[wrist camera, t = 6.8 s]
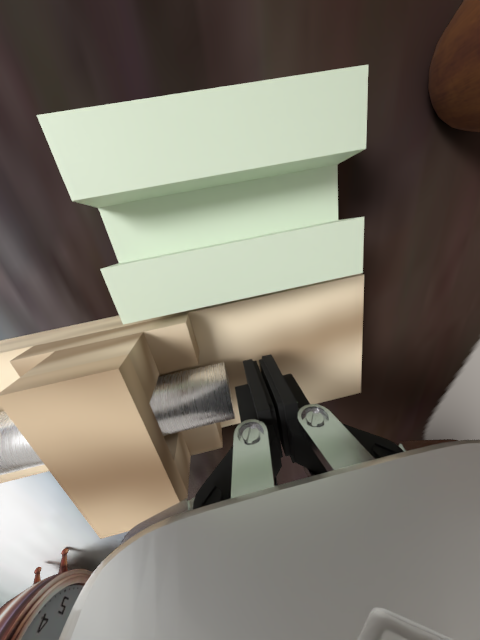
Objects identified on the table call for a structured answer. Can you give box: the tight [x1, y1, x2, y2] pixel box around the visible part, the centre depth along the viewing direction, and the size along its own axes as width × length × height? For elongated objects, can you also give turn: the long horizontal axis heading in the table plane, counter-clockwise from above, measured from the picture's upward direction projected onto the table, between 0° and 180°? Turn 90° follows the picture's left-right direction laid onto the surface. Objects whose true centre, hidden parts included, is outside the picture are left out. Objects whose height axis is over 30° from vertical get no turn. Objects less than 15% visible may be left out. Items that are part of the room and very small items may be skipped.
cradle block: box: [37, 65, 368, 325], centre depth 11 cm, size 7×11×4 cm, turn 100°
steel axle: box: [0, 362, 235, 475], centre depth 12 cm, size 16×3×3 cm, turn 100°
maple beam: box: [0, 274, 364, 539], centre depth 12 cm, size 8×28×7 cm, turn 100°
